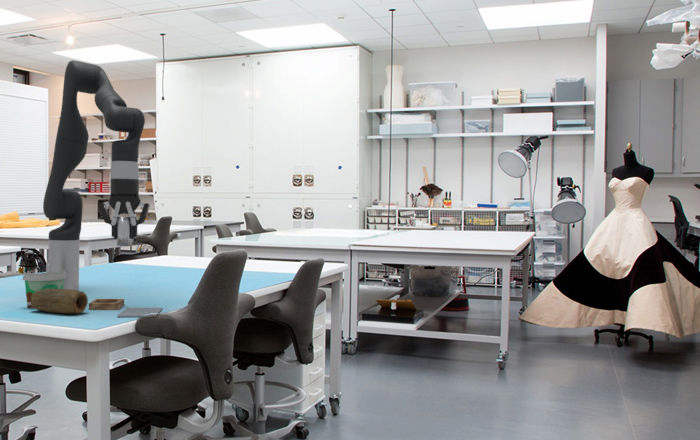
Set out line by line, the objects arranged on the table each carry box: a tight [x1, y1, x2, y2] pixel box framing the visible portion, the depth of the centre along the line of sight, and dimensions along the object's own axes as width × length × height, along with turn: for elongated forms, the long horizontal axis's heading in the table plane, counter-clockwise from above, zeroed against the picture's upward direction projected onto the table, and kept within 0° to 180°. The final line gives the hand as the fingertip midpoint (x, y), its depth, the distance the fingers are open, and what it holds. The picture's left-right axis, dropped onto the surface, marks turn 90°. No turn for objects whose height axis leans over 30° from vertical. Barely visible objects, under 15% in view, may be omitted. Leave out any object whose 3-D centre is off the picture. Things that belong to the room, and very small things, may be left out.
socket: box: [88, 298, 125, 311], centre depth 177 cm, size 8×8×2 cm
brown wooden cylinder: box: [31, 289, 89, 315], centre depth 167 cm, size 15×7×7 cm, turn 78°
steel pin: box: [116, 216, 133, 247], centre depth 172 cm, size 4×4×8 cm
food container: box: [22, 269, 67, 309], centre depth 175 cm, size 12×6×10 cm, turn 148°
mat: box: [116, 307, 163, 318], centre depth 170 cm, size 10×12×1 cm
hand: (124, 238), depth 172 cm, fingers closed on steel pin, 4 cm apart
